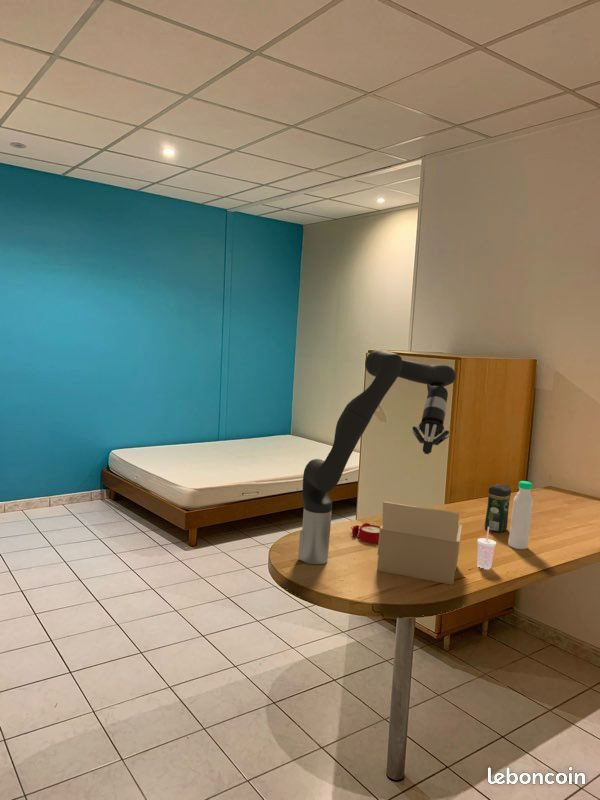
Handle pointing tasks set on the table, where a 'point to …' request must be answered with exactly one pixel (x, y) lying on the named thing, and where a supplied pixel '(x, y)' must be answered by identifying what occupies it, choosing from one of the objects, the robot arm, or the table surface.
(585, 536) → the table surface
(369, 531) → the alarm clock
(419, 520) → the carton flap
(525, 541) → the water bottle
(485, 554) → the beverage cup
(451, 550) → the carton
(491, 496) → the coffee jar
